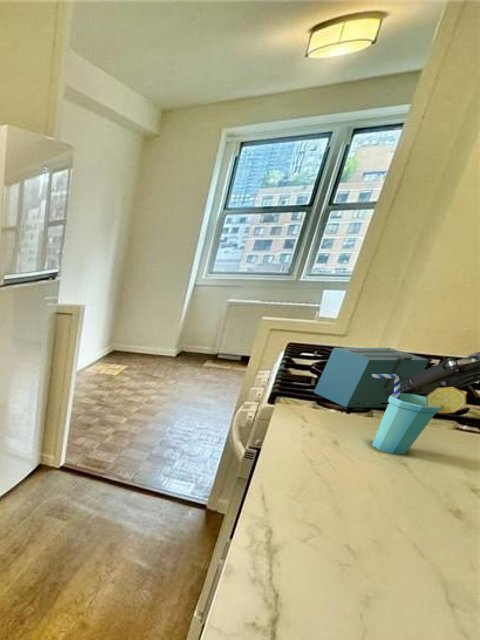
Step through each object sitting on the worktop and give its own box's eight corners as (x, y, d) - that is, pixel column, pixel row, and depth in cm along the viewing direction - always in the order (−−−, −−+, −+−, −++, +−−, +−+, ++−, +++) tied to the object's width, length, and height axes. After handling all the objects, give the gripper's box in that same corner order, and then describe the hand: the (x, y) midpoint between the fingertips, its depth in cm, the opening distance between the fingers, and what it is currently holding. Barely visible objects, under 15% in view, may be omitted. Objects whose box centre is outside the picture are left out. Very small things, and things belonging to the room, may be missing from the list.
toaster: (366, 392, 126) (391, 343, 120) (409, 410, 116) (438, 357, 110) (313, 392, 126) (335, 343, 120) (351, 410, 116) (377, 357, 110)
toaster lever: (397, 379, 114) (401, 371, 113) (435, 393, 106) (440, 384, 105) (382, 379, 114) (386, 371, 113) (419, 393, 106) (424, 384, 105)
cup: (342, 445, 99) (377, 376, 92) (336, 432, 105) (369, 366, 98) (436, 464, 93) (482, 391, 86) (424, 448, 98) (466, 378, 91)
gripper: (490, 364, 89) (367, 411, 111) (580, 364, 89) (439, 411, 111) (475, 328, 91) (357, 381, 113) (563, 328, 91) (428, 381, 113)
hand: (398, 396), depth 112 cm, fingers closed on toaster lever, 4 cm apart
